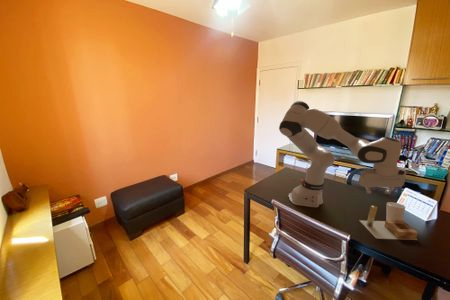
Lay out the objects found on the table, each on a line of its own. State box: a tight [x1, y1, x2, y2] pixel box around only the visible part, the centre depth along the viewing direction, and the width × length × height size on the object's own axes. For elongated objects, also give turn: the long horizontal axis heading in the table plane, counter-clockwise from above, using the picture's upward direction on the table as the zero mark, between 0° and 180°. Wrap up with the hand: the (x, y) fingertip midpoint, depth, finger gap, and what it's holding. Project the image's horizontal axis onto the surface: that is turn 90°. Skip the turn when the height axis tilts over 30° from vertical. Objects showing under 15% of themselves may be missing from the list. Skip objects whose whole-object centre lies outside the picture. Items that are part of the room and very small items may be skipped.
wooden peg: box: [366, 204, 378, 227], centre depth 103 cm, size 3×3×12 cm
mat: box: [359, 219, 418, 241], centre depth 102 cm, size 20×14×1 cm
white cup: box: [385, 201, 406, 221], centre depth 107 cm, size 8×8×10 cm
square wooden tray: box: [384, 220, 419, 240], centre depth 99 cm, size 9×9×4 cm
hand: (377, 193), depth 99 cm, fingers open, 8 cm apart
